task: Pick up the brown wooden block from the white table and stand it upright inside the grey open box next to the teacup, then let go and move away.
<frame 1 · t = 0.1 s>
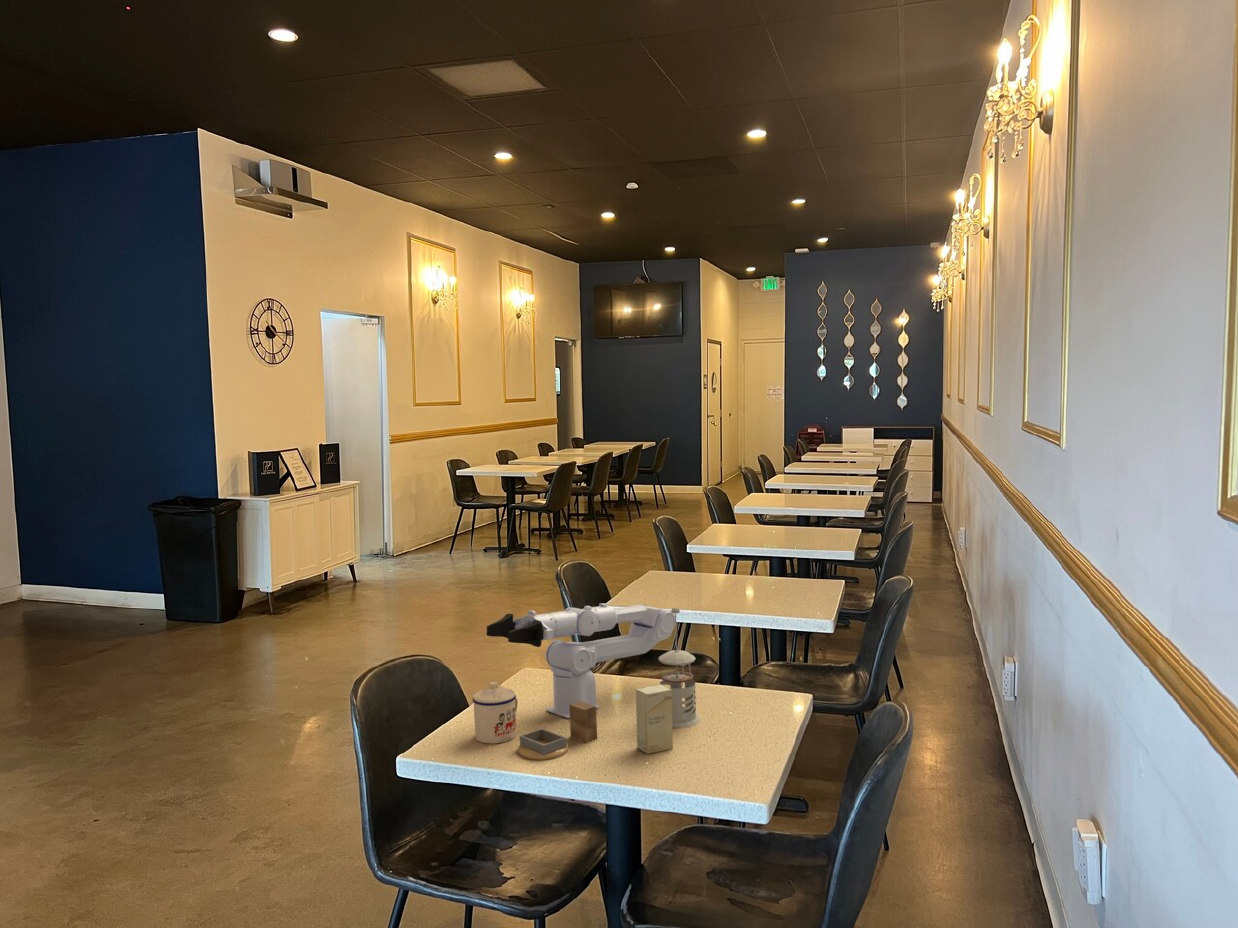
hand: (498, 633, 190), 22 cm above the table, tool horizontal, fingers open, 7 cm apart
grey open box: (543, 750, 182), on the table
teacup with lid: (500, 735, 191), on the table
skincare box: (655, 748, 181), on the table
french press: (679, 719, 198), on the table
brown wooden block: (583, 737, 188), on the table
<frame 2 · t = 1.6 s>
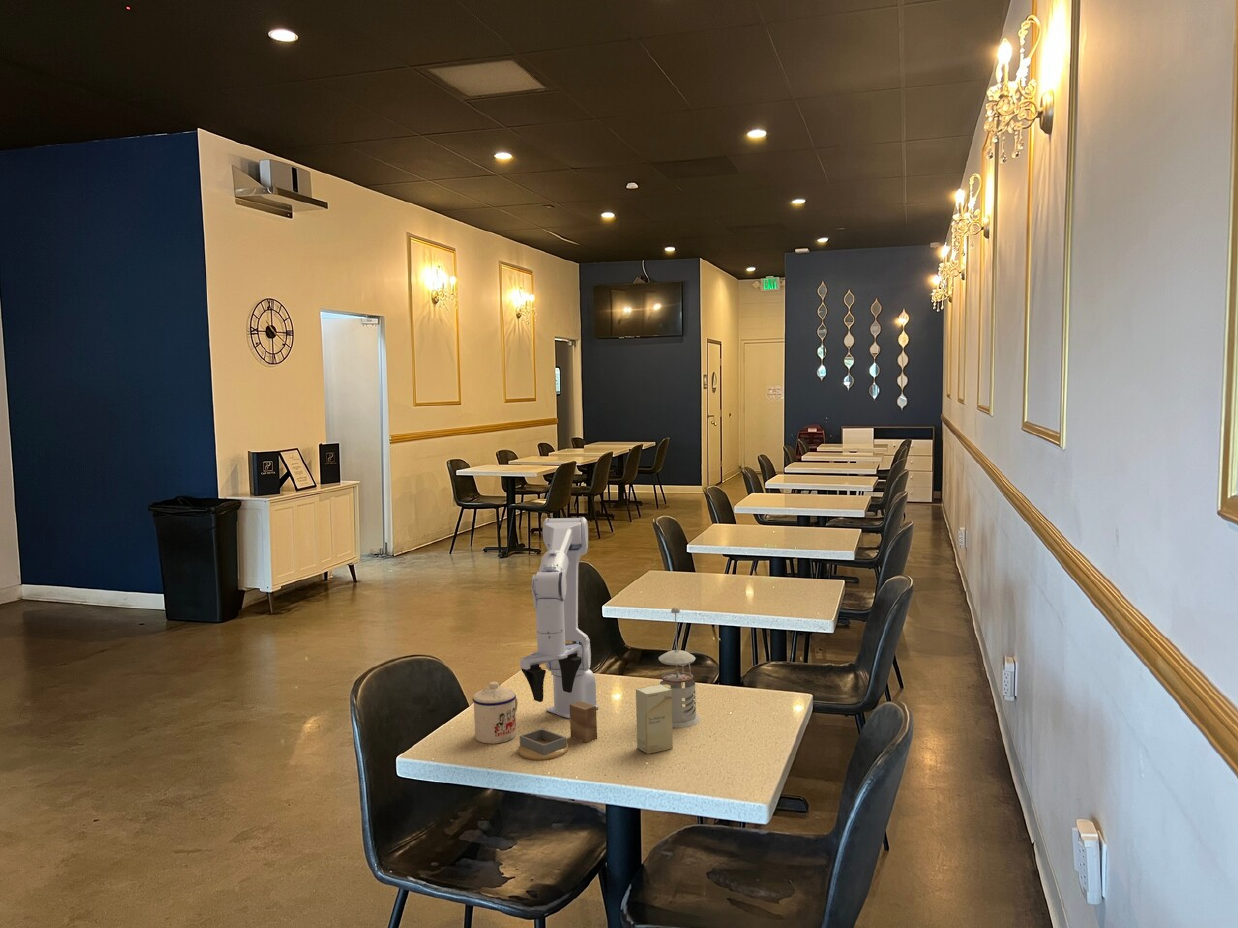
hand: (553, 696, 183), 10 cm above the table, tool pointing down, fingers open, 7 cm apart
nothing on the table moved.
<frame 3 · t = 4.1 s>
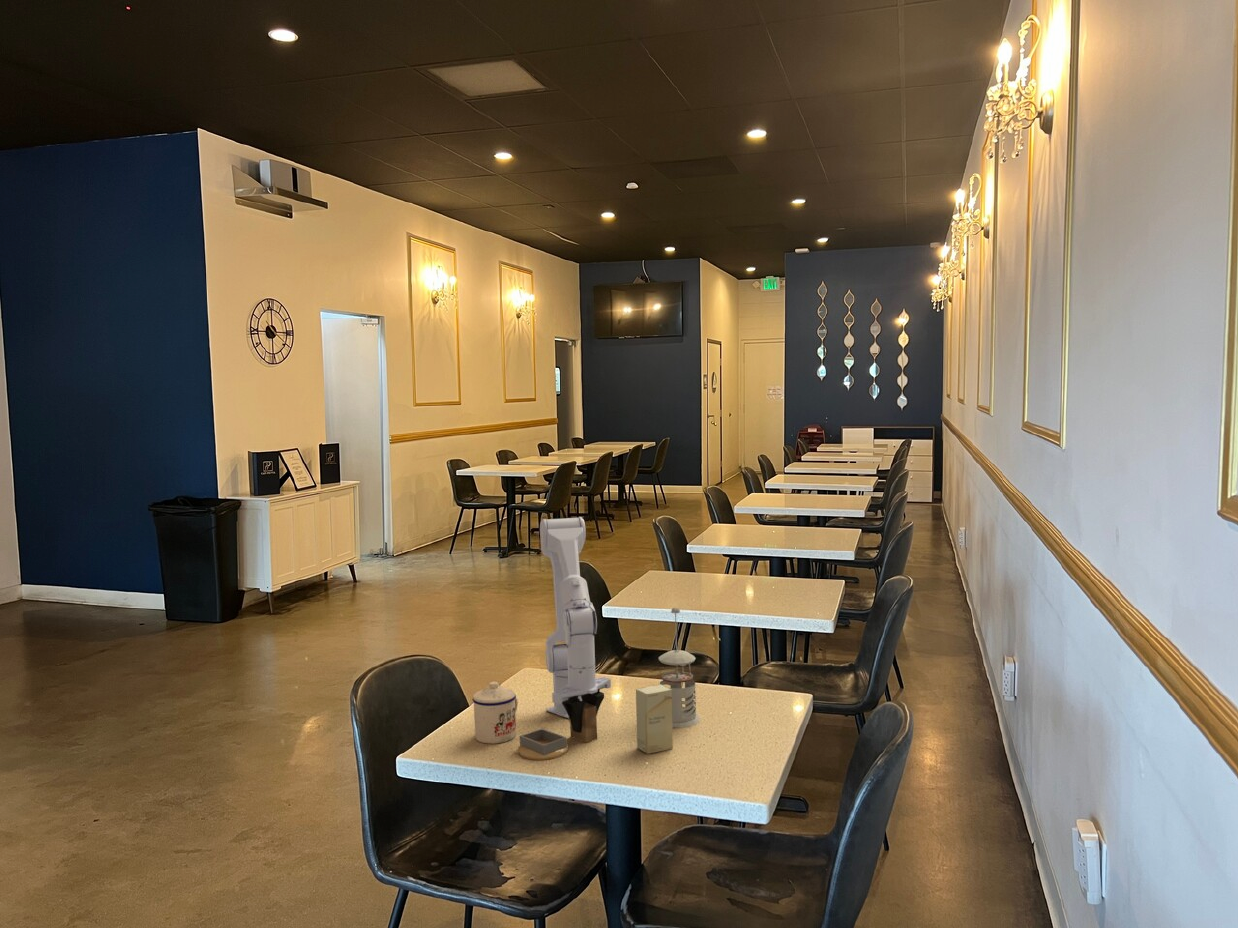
hand: (583, 728, 188), 2 cm above the table, tool pointing down, fingers closed on brown wooden block, 3 cm apart
brown wooden block: (583, 737, 188), on the table, touching gripper
everything else where it was.
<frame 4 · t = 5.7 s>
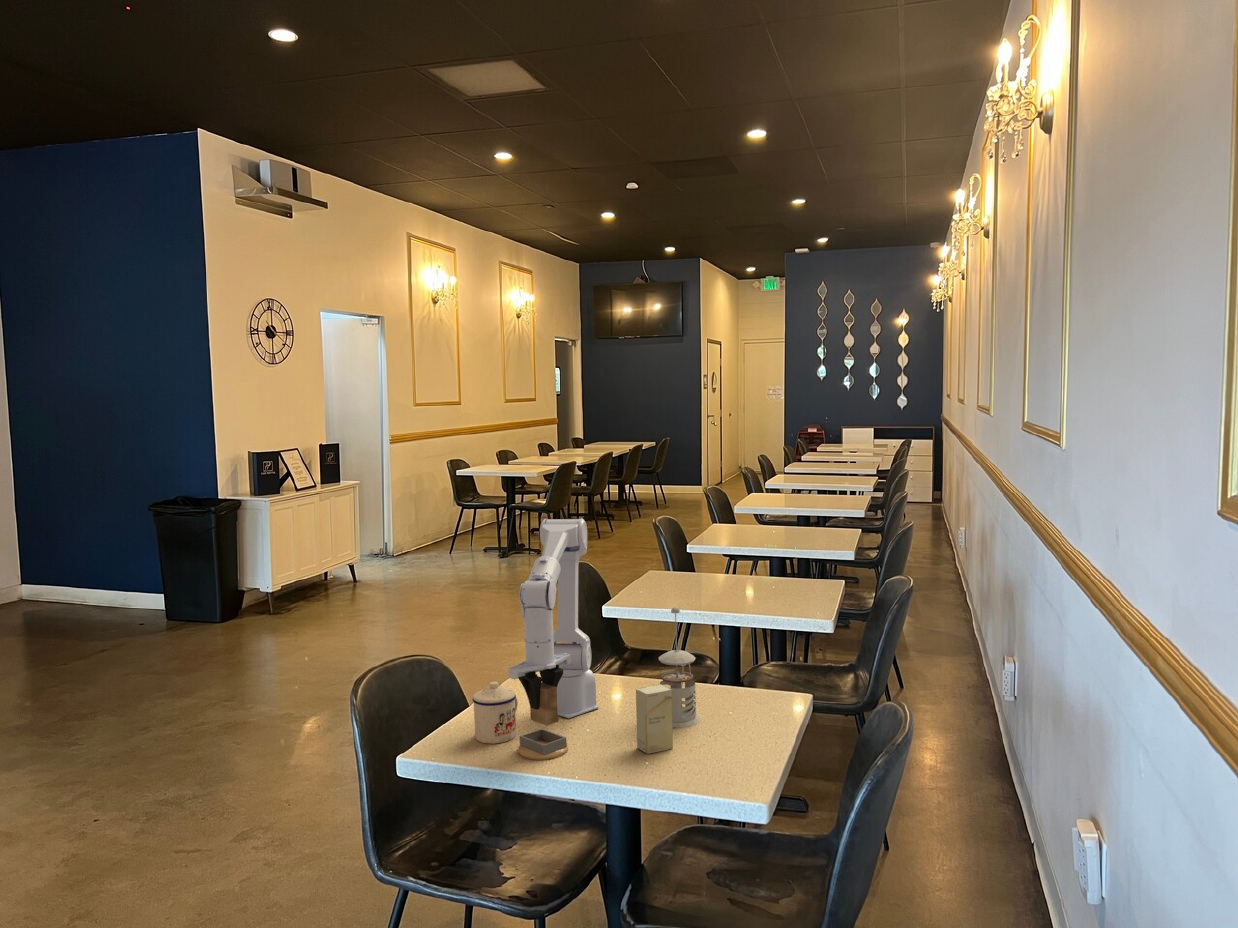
hand: (541, 705, 181), 9 cm above the table, tool pointing down, fingers closed on brown wooden block, 3 cm apart
brown wooden block: (544, 720, 181), point 6 cm above the table, touching gripper
everything else where it was.
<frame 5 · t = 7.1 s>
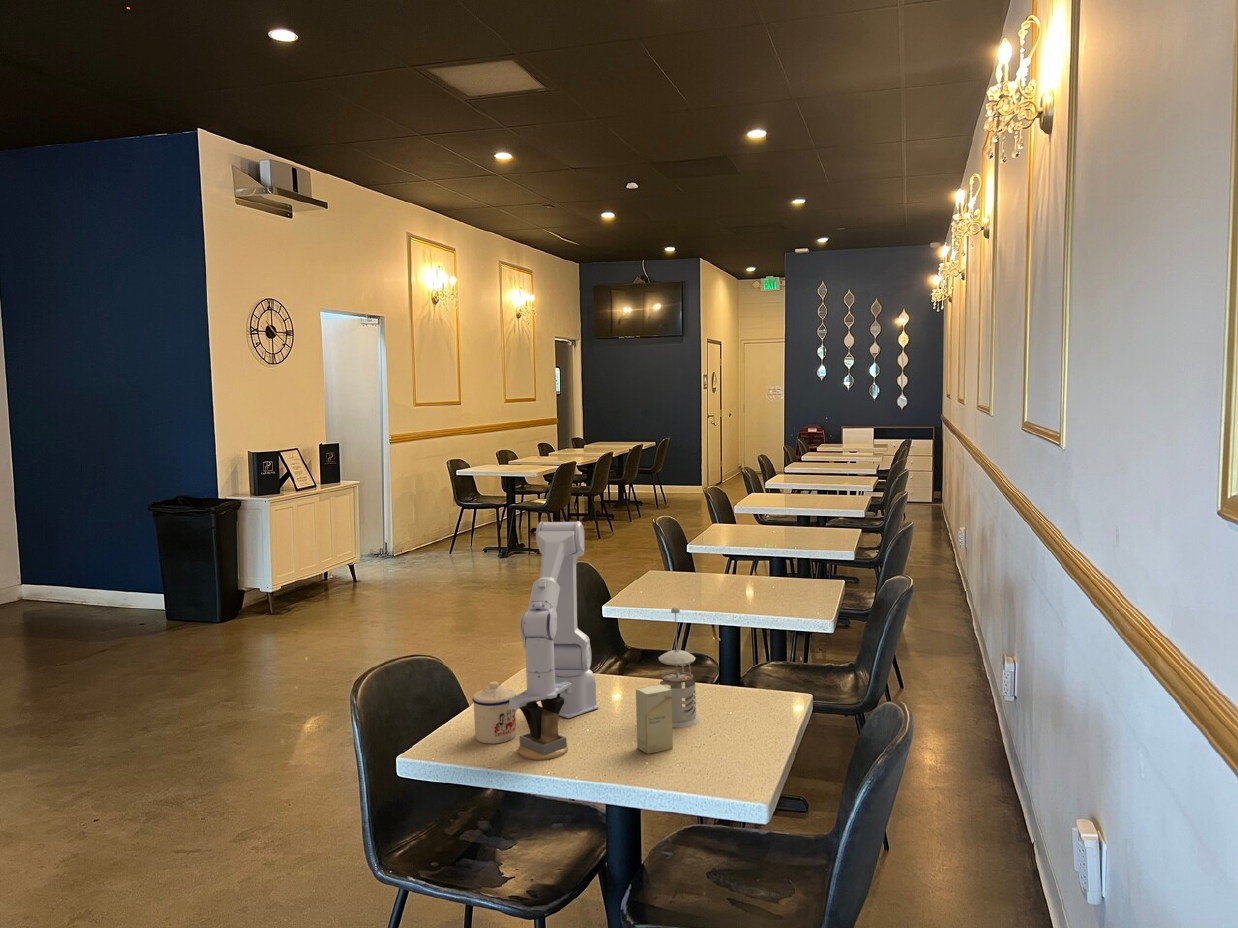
hand: (542, 735, 181), 3 cm above the table, tool pointing down, fingers closed on brown wooden block, 3 cm apart
brown wooden block: (545, 747, 181), point 1 cm above the table, touching gripper, grey open box
everything else where it was.
when the fingers open (3 cm above the table, at t = 7.7 s): brown wooden block stays where it is, resting on grey open box.
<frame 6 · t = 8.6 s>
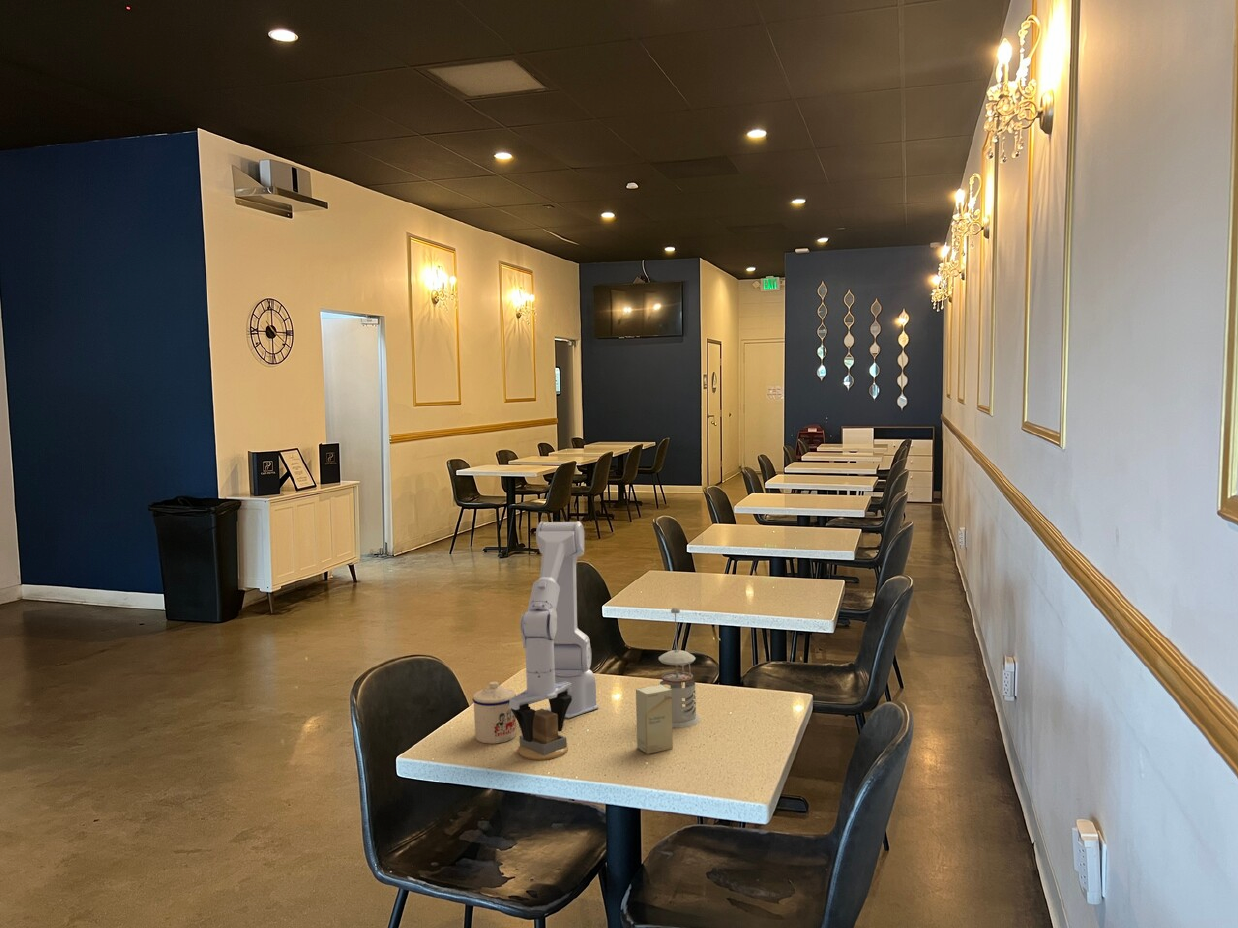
hand: (542, 735, 181), 3 cm above the table, tool pointing down, fingers open, 7 cm apart
brown wooden block: (545, 747, 181), point 1 cm above the table, touching grey open box
everything else where it was.
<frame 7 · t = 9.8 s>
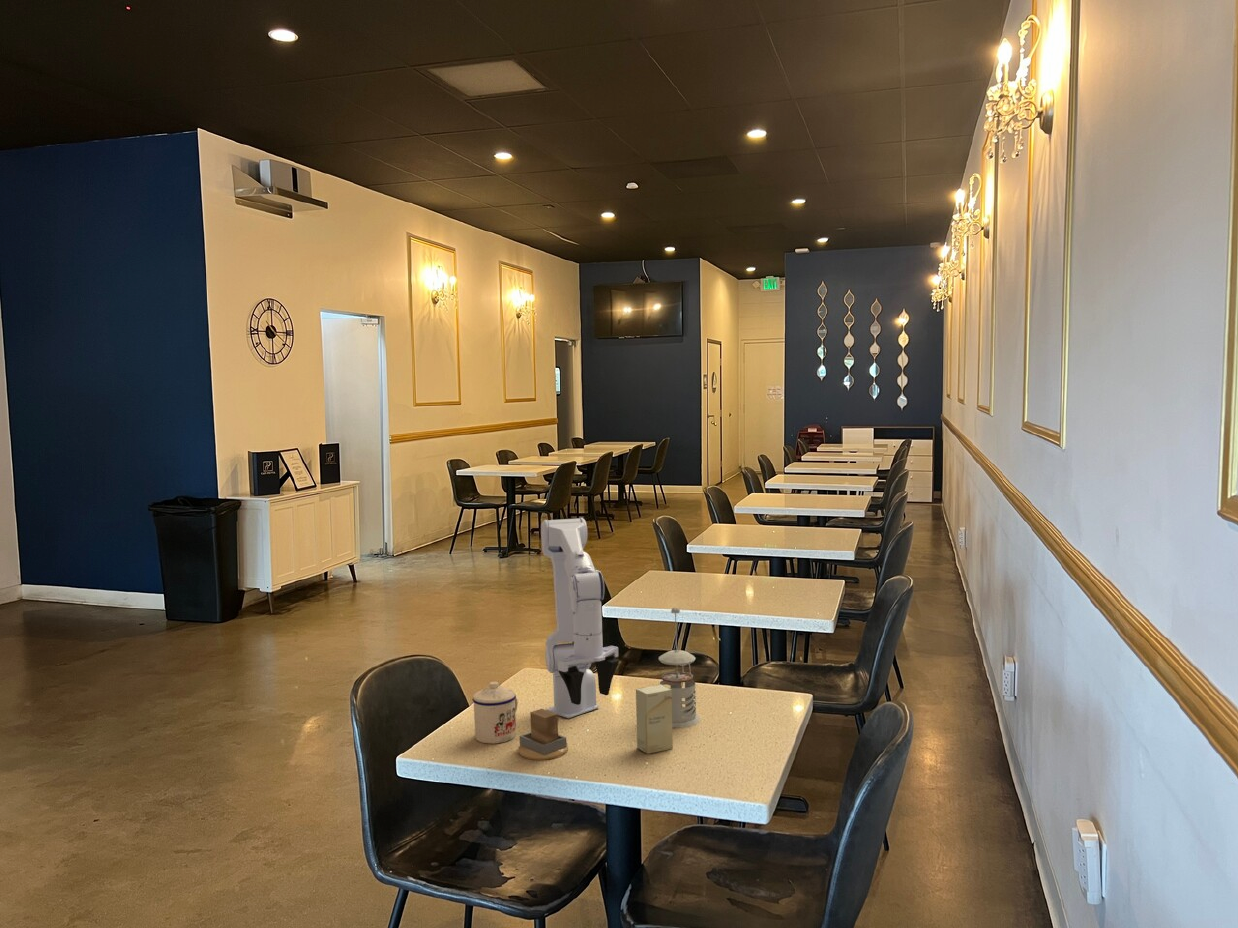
hand: (590, 698, 181), 10 cm above the table, tool pointing down, fingers open, 7 cm apart
nothing on the table moved.
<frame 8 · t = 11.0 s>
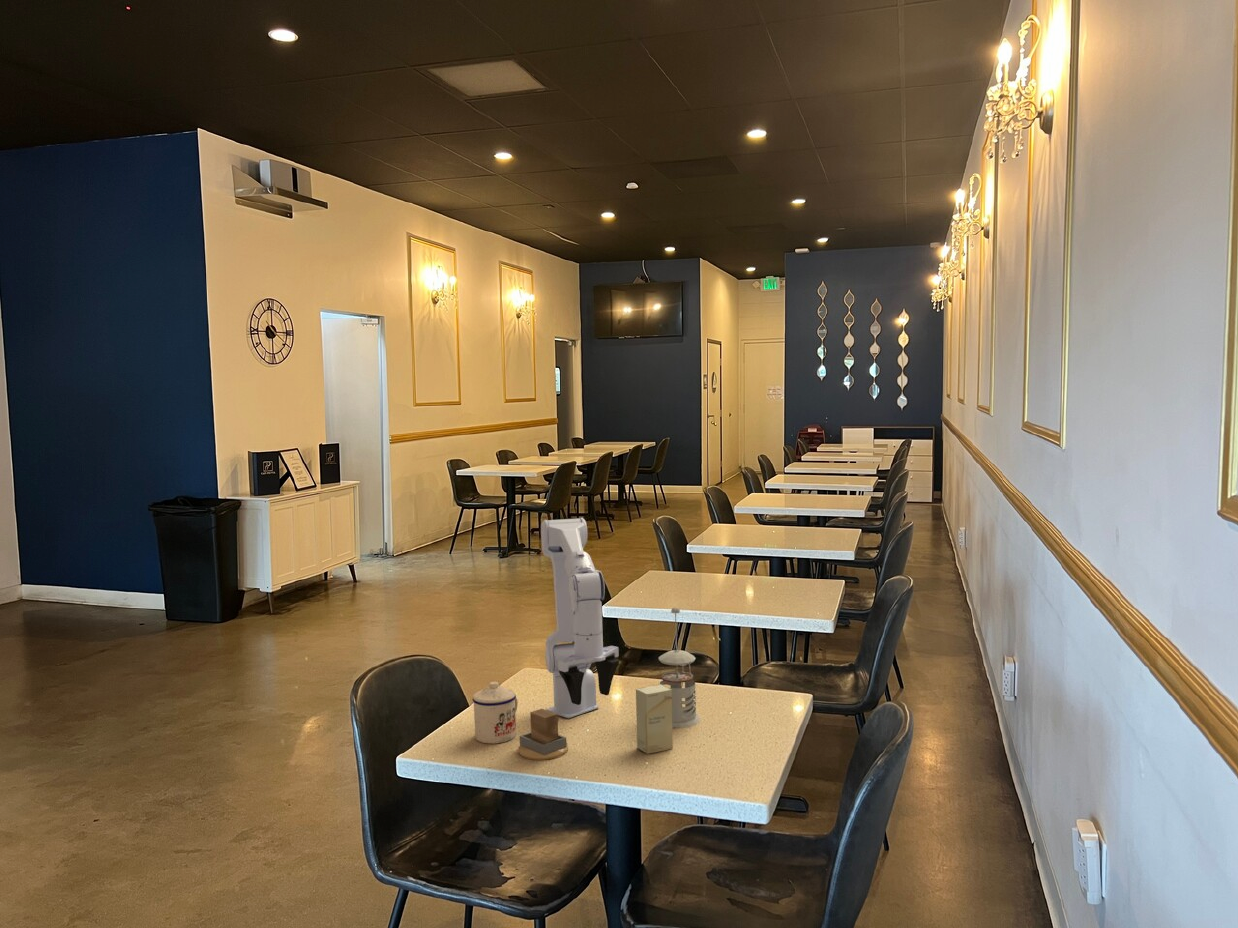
hand: (590, 698, 181), 10 cm above the table, tool pointing down, fingers open, 7 cm apart
nothing on the table moved.
at the end: brown wooden block 0.6 cm off-centre on the grey open box, point 0.8 cm above the grey open box's base; brown wooden block tilted 0°; the gripper is holding nothing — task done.
